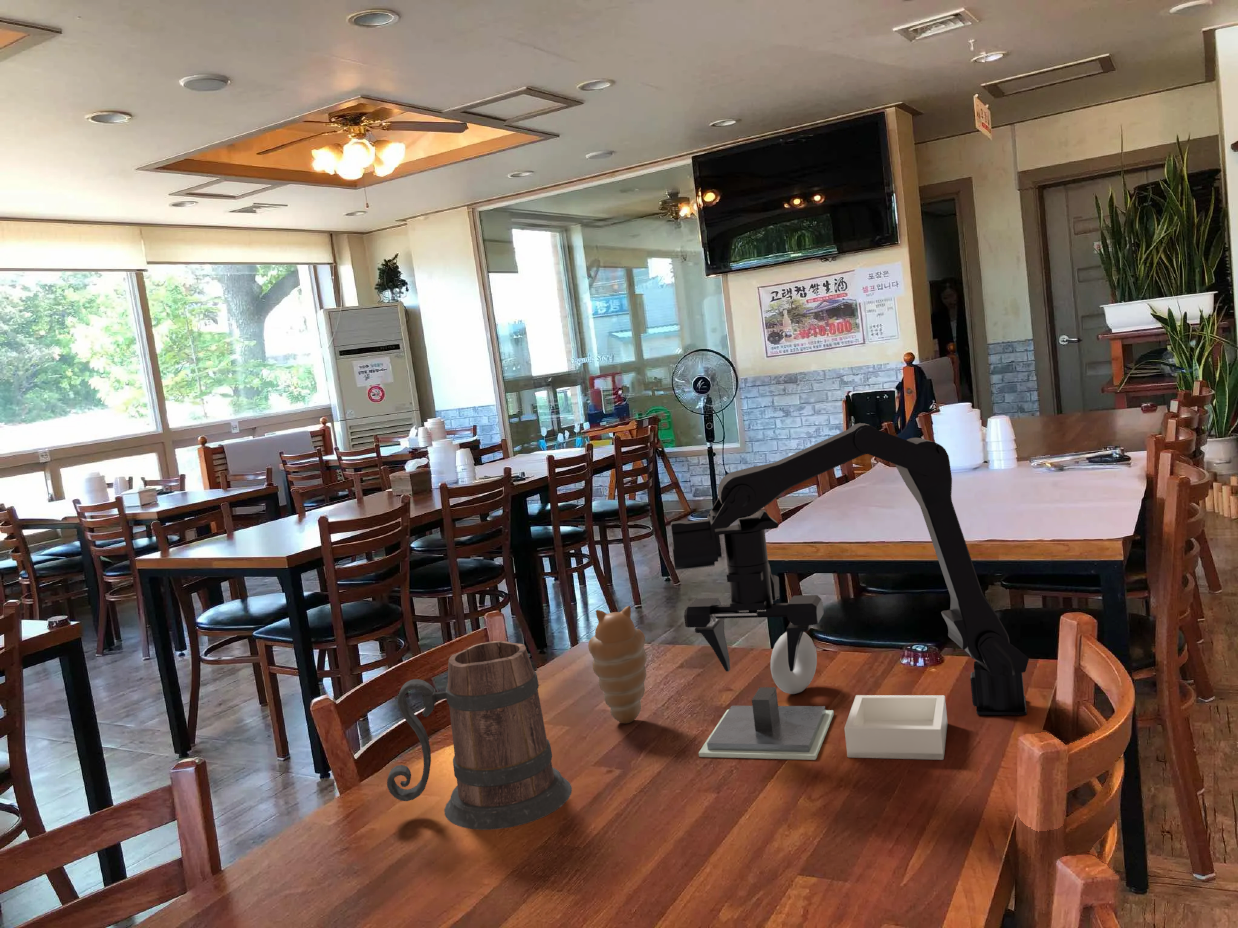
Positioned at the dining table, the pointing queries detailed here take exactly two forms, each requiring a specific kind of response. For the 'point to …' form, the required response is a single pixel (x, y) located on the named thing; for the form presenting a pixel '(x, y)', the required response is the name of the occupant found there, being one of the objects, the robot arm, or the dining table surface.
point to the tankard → (489, 740)
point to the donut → (803, 666)
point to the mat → (771, 754)
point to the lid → (768, 726)
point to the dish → (897, 727)
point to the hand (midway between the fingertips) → (759, 670)
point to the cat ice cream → (619, 663)
